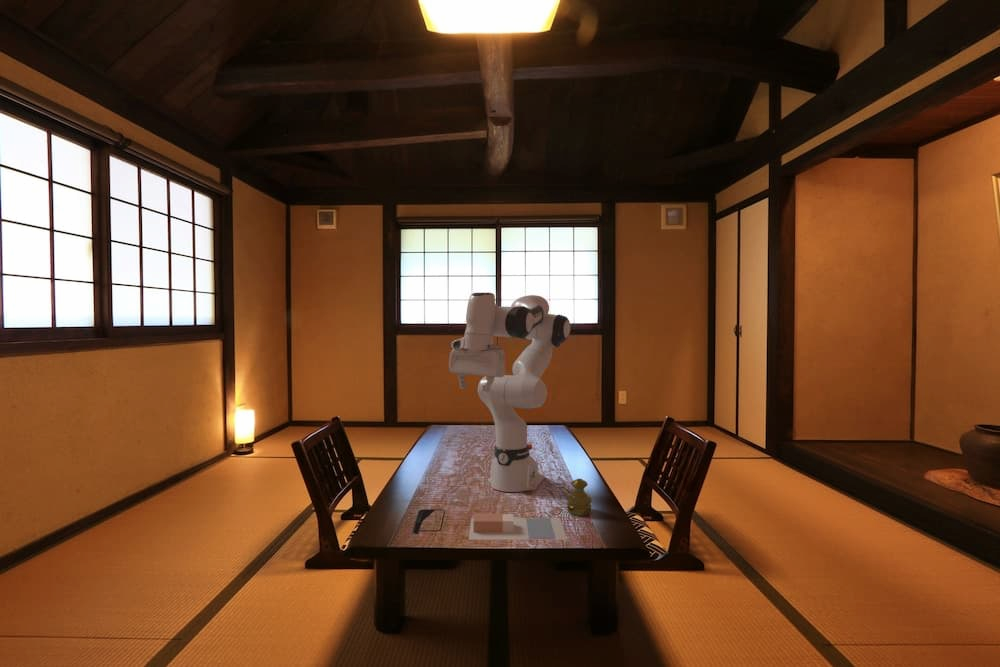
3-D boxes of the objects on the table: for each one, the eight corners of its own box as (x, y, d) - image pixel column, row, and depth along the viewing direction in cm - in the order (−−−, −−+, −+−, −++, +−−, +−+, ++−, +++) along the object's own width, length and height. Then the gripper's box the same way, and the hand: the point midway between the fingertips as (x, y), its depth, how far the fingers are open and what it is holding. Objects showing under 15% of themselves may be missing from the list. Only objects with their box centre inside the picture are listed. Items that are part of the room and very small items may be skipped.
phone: (445, 509, 150) (440, 530, 135) (445, 513, 150) (440, 534, 135) (419, 509, 150) (411, 530, 135) (419, 513, 150) (411, 534, 135)
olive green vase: (578, 518, 145) (578, 485, 145) (562, 510, 152) (562, 478, 151) (596, 513, 149) (596, 480, 149) (580, 505, 155) (580, 474, 155)
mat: (471, 520, 144) (471, 517, 144) (560, 520, 144) (560, 517, 144) (468, 541, 130) (468, 539, 130) (566, 541, 130) (566, 539, 130)
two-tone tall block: (473, 532, 134) (473, 521, 134) (474, 524, 139) (474, 514, 139) (513, 532, 134) (513, 521, 134) (512, 524, 139) (513, 514, 139)
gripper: (511, 346, 145) (507, 393, 144) (461, 343, 158) (457, 386, 157) (498, 345, 140) (494, 393, 140) (447, 342, 153) (443, 386, 153)
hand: (474, 390), depth 149 cm, fingers open, 8 cm apart
